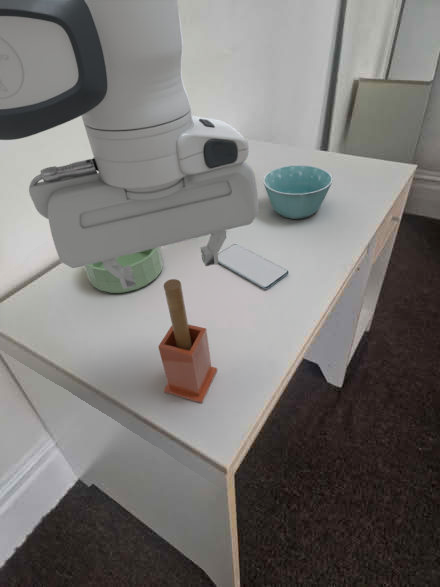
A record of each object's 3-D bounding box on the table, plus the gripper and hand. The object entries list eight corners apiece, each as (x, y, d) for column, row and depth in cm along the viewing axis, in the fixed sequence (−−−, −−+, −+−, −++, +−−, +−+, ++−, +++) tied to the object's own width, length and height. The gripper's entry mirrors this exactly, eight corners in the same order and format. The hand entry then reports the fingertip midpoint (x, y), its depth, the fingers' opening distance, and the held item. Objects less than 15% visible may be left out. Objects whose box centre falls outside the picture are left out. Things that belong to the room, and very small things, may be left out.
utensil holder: (164, 392, 54) (151, 348, 47) (181, 360, 58) (172, 317, 51) (202, 403, 52) (194, 360, 45) (217, 370, 56) (212, 326, 50)
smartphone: (266, 288, 68) (211, 257, 77) (266, 291, 69) (211, 259, 77) (290, 271, 72) (235, 243, 80) (289, 273, 72) (235, 245, 81)
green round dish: (74, 287, 74) (63, 262, 70) (115, 245, 84) (109, 222, 80) (140, 301, 69) (133, 276, 65) (175, 255, 79) (171, 231, 76)
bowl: (263, 227, 86) (264, 194, 80) (262, 196, 97) (262, 165, 92) (333, 225, 84) (338, 192, 79) (323, 194, 96) (326, 163, 90)
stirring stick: (181, 382, 54) (160, 288, 42) (187, 371, 55) (168, 277, 43) (194, 385, 53) (176, 291, 41) (199, 375, 55) (183, 280, 43)
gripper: (17, 188, 28) (77, 317, 37) (265, 138, 32) (264, 265, 41) (22, 160, 33) (74, 281, 42) (238, 119, 37) (243, 237, 46)
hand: (170, 273), depth 41 cm, fingers open, 8 cm apart
